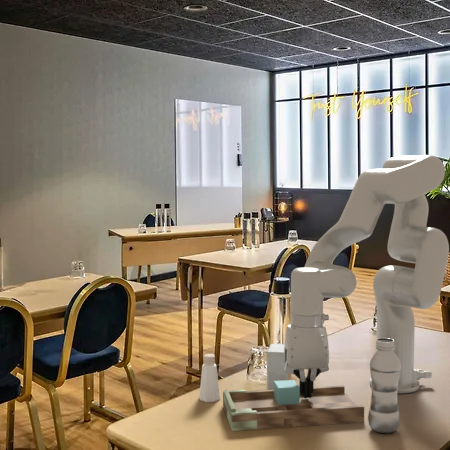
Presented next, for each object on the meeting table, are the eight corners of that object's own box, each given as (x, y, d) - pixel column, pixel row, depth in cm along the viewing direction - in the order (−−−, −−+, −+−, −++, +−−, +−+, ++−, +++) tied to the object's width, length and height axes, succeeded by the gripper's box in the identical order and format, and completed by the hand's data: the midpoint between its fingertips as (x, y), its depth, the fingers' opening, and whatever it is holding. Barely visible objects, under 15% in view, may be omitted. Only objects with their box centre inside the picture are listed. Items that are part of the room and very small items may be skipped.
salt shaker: (204, 403, 148) (204, 359, 147) (195, 396, 152) (194, 353, 151) (224, 399, 150) (224, 356, 149) (214, 392, 155) (214, 350, 154)
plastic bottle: (363, 425, 135) (364, 336, 133) (393, 423, 135) (394, 335, 133) (373, 437, 128) (374, 344, 126) (404, 436, 129) (406, 343, 127)
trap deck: (343, 399, 150) (343, 381, 150) (364, 421, 136) (364, 402, 136) (223, 406, 146) (222, 388, 145) (232, 431, 132) (232, 410, 132)
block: (293, 396, 147) (294, 380, 146) (299, 403, 142) (299, 387, 142) (273, 397, 146) (273, 380, 146) (278, 404, 141) (278, 388, 141)
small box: (288, 393, 154) (288, 352, 154) (266, 391, 156) (266, 351, 155) (291, 382, 162) (291, 344, 161) (270, 381, 163) (270, 343, 163)
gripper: (332, 315, 148) (331, 388, 149) (272, 317, 145) (272, 392, 147) (342, 322, 140) (341, 400, 142) (279, 325, 138) (279, 403, 140)
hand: (306, 395), depth 144 cm, fingers closed
